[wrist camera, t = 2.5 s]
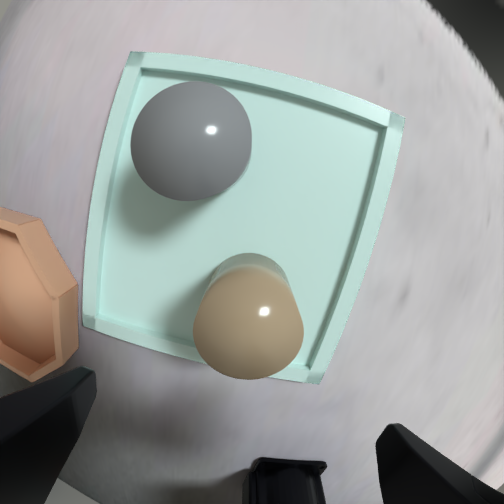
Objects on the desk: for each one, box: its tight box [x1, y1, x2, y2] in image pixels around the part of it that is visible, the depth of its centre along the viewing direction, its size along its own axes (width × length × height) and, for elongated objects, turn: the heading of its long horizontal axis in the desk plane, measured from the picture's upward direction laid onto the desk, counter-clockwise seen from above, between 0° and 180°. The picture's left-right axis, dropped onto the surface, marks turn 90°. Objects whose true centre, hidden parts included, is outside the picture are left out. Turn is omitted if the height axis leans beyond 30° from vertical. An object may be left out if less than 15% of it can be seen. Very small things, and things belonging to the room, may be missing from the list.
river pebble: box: [193, 253, 304, 380], centre depth 14 cm, size 5×5×5 cm
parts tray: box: [83, 52, 405, 384], centre depth 16 cm, size 16×17×1 cm
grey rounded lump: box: [130, 81, 252, 201], centre depth 12 cm, size 5×5×5 cm
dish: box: [0, 207, 79, 382], centre depth 16 cm, size 13×13×2 cm
